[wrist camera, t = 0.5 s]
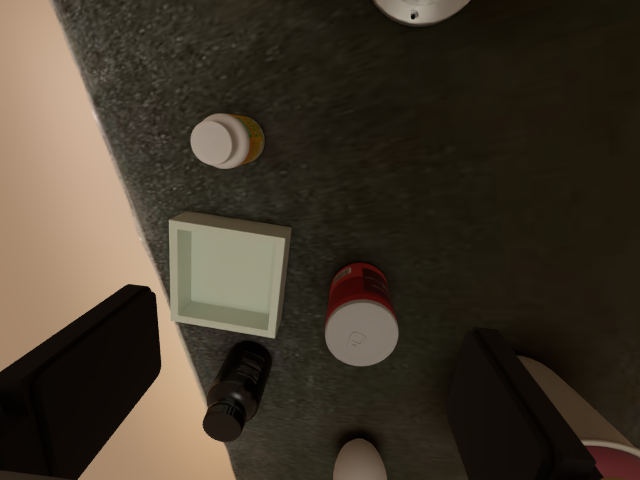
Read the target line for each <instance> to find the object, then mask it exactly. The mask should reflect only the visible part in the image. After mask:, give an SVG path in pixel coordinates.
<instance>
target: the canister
mask: <svg viewBox="0 0 640 480" xmlns="http://www.w3.org/2000/svg"><path fill="white" fill-rule="evenodd" d="M517 357H518V358H519V359H520V361H521V362H522V363H523V365H524V366H525V367H526V369H527V370H528V371H529V373H530V374H531V375H532V377H533V378H534V379H535V381H536V382H537V383H538V385H539V386H540V387H541V388H542V390H543V391H544V392H545V394H546V395H547V396H548V398H549V399H550V400H551V402H552V403H553V404H554V406H555V407H556V408H557V410H558V411H559V412H560V414H561V415H562V416H563V418H564V419H565V420H566V422H567V423H568V424H569V426H570V427H571V428H572V430H573V431H574V432H575V434H576V435H577V436H578V438H579V439H580V440H581V442H582V443H583V444H584V446H585V447H586V448H587V450H588V451H589V452H590V454H591V455H592V456H593V458H594V459H595V460H596V464H595V466H596V467H597V469H598V470H599V471H600V473H601V474H602V475H603V477H604V478H605V477H608V476H612V477H621V478H624V479H627V480H640V449H638V448H636V447H634V446H633V445H632V444H631V443H630V442H629V441H628V440H626V439H625V438H624V437H623V436H622V435H621V434H620V433H619V432H618V431H617V430H616V429H615V428H614V427H613V426H612V425H611V424H610V423H609V422H607V421H606V420H605V419H604V418H603V417H602V416H601V415H600V414H599V413H598V412H597V411H596V410H595V409H594V408H593V407H592V406H591V405H589V404H588V403H587V402H586V401H585V400H584V399H583V398H582V397H581V396H580V395H579V394H578V393H577V392H575V391H574V390H573V389H572V388H571V387H570V386H569V385H568V384H567V383H565V382H564V381H563V380H562V379H561V378H560V377H559V376H558V375H556V374H555V373H554V372H553V371H552V370H550V369H549V368H547V367H546V366H544V365H543V364H541V363H540V362H537V361H535V360H533V359H531V358H526V357H524V356H517Z"/></svg>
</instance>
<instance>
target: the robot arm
mask: <svg viewBox="0 0 640 480" xmlns="http://www.w3.org/2000/svg"><path fill="white" fill-rule="evenodd" d="M372 1H373V3H374V5H375V6H376V7H377V8H378V9H379V10H380V11H381V12H382V13H383V14H384V15H385V16H387V17H388V18H389V19H391V20H392V21H395V22H397V23H399V24H402V25H406V26H411V27H426V26H430V25H434V24H438V23H440V22H442V21H444V20H446V19H448V18H450V17H451V16H453V15H454V14H456V13H457V12H458V11H460V10H461V9H462V8H463V7H464V6H465V5H466V4H467V3H468V2H469V1H470V0H372ZM411 15H414V16H415V19H414V20H412V19H411V18H410V16H411ZM160 369H161V355H160V342H159V329H158V317H157V304H156V295H155V293H154V292H151V290H150V288H149V287H148V286H140V285H132V284H128V285H126V286H124V287H123V288H121V289H120V290H118V291H117V292H115V293H114V294H113V295H111V296H110V297H108V298H107V299H105V300H104V301H102V302H101V303H99V304H98V305H97V306H96V307H94V308H92V309H91V310H89V311H88V312H86V313H85V314H84V315H82V316H81V317H79V318H78V319H76V320H75V321H73V322H72V323H70V324H69V325H68V326H66V327H65V328H63V329H62V330H60V331H59V332H57V333H56V334H55V335H53V336H52V337H50V338H49V339H47V340H46V341H44V342H43V343H42V344H40V345H39V346H37V347H36V348H34V349H33V350H31V351H30V352H28V353H27V354H26V355H24V356H23V357H21V358H20V359H19V360H17V361H15V362H14V363H13V364H11V365H10V366H8V367H7V368H5V369H4V370H2V371H1V372H0V480H78V478H79V477H80V476H81V474H82V473H83V472H84V471H85V469H86V468H87V467H88V465H89V464H90V463H91V462H92V460H93V459H94V458H95V456H96V455H97V454H98V453H99V451H100V450H101V449H102V447H103V446H104V445H105V444H106V442H107V441H108V440H109V438H110V437H111V436H112V435H113V433H114V432H115V431H116V429H117V428H118V427H119V425H120V424H121V423H122V422H123V420H124V419H125V418H126V417H127V415H128V414H129V413H130V411H131V410H132V409H133V408H134V406H135V405H136V404H137V403H138V401H139V400H140V399H141V397H142V396H143V395H144V393H145V392H146V391H147V390H148V388H149V387H150V386H151V385H152V383H153V382H154V380H155V379H156V378H157V377H158V375H159V373H160ZM446 414H447V418H448V421H449V424H450V427H451V430H452V433H453V436H454V438H455V441H456V444H457V447H458V450H459V453H460V456H461V459H462V462H463V464H464V467H465V470H466V473H467V476H468V479H469V480H627V479H624V478H621V477H612V476H608V477H605V478H604V477H603V475H602V474H601V473H600V471H599V470H598V469H597V467H596V466H595V464H596V460H595V459H594V458H593V456H592V455H591V454H590V452H589V451H588V450H587V448H586V447H585V446H584V444H583V443H582V442H581V440H580V439H579V438H578V436H577V435H576V434H575V432H574V431H573V430H572V428H571V427H570V426H569V424H568V423H567V422H566V420H565V419H564V418H563V416H562V415H561V414H560V412H559V411H558V410H557V408H556V407H555V406H554V404H553V403H552V402H551V400H550V399H549V398H548V396H547V395H546V394H545V392H544V391H543V390H542V388H541V387H540V386H539V385H538V383H537V382H536V381H535V379H534V378H533V377H532V375H531V374H530V373H529V371H528V370H527V369H526V367H525V366H524V365H523V363H522V362H521V361H520V359H519V358H518V357H517V355H516V354H515V353H514V351H513V350H512V349H511V347H510V346H509V345H508V343H507V342H506V341H505V339H504V338H503V337H502V335H501V334H500V333H499V332H498V331H497V330H495V329H487V328H479V327H475V328H473V330H472V332H471V331H468V332H467V333H466V335H465V338H464V341H463V345H462V349H461V352H460V356H459V360H458V363H457V367H456V370H455V374H454V378H453V381H452V385H451V389H450V392H449V396H448V399H447V404H446Z"/></svg>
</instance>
